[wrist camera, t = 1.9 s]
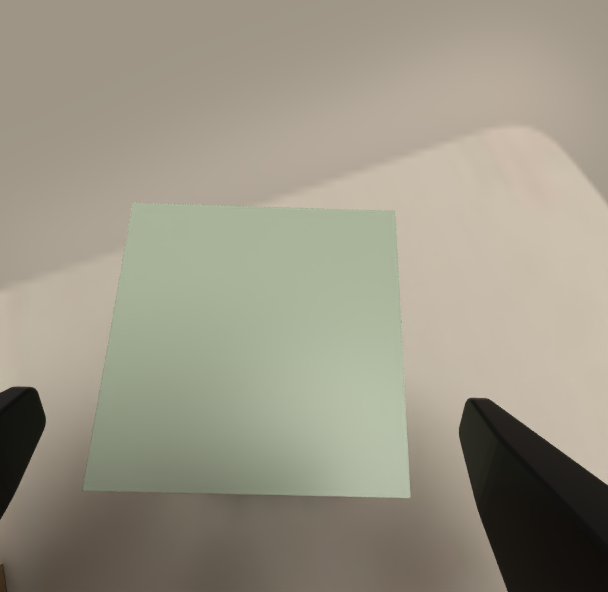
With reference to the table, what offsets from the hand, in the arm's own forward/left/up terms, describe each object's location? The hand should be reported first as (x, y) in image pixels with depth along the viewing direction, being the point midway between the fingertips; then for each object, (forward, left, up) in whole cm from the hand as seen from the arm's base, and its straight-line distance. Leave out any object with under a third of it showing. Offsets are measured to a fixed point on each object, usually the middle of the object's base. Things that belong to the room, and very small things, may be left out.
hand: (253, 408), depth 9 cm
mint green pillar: (+1, +1, -9) cm, 9 cm away
